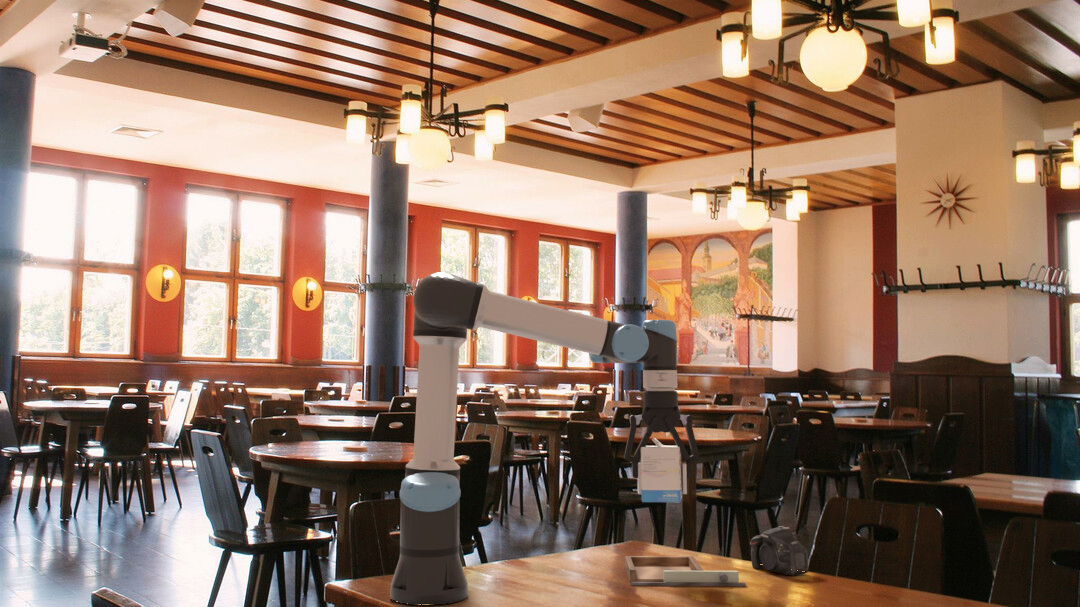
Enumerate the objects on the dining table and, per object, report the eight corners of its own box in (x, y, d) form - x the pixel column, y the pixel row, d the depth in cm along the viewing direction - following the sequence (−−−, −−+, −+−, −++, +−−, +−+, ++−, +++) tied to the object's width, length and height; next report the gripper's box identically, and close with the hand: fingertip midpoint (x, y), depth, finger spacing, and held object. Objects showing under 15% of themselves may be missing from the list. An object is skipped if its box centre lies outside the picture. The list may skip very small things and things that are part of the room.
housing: (630, 585, 184) (630, 572, 185) (625, 567, 202) (624, 555, 202) (746, 586, 184) (745, 573, 184) (730, 568, 201) (729, 556, 201)
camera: (740, 571, 199) (739, 525, 200) (763, 564, 206) (762, 520, 207) (795, 580, 190) (794, 532, 190) (817, 573, 197) (815, 527, 198)
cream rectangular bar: (664, 585, 184) (664, 572, 184) (663, 583, 186) (663, 570, 186) (739, 585, 183) (739, 573, 184) (737, 583, 186) (737, 570, 186)
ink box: (680, 503, 190) (679, 439, 191) (641, 502, 191) (640, 439, 192) (682, 498, 198) (681, 437, 199) (644, 497, 200) (643, 436, 201)
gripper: (612, 390, 193) (613, 495, 191) (712, 389, 193) (714, 495, 191) (610, 389, 201) (611, 491, 199) (707, 389, 200) (709, 491, 198)
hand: (662, 493), depth 195 cm, fingers closed on ink box, 9 cm apart
